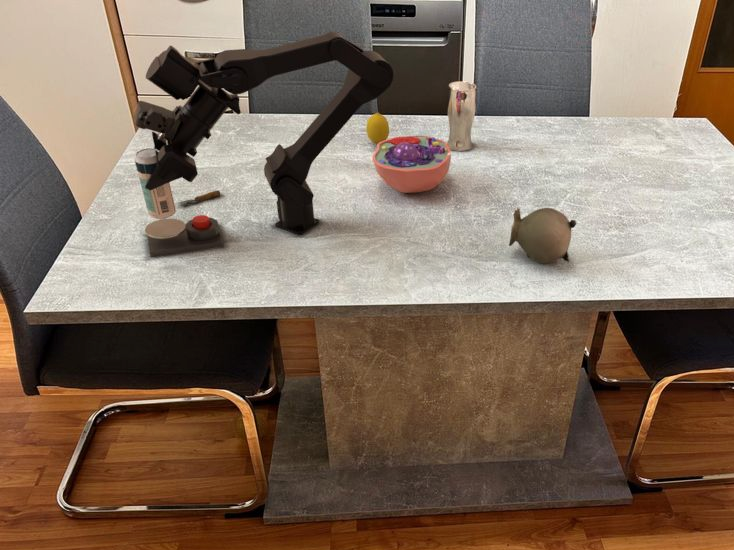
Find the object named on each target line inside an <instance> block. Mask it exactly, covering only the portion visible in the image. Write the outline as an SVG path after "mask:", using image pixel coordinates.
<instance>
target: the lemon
mask: <svg viewBox="0 0 734 550" xmlns="http://www.w3.org/2000/svg"><path fill="white" fill-rule="evenodd" d="M365 131H366V135H367V137H368V139H369V140H370V141H371V142H372V143H374V144H375V145H377V144H378V143H379V142H381V141H384V140H387V139H389V138H388V137H389V135H390V125H389V122H388V119H387V118H386V116H384V115H383V114H381V113H379V112H375V113H374V114H372V115H370V117H368V120H367V122H366V128H365Z"/></svg>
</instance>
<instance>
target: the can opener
mask: <svg viewBox="0 0 734 550" xmlns="http://www.w3.org/2000/svg"><path fill="white" fill-rule="evenodd" d="M219 196H221V191H220V190H219V189H217V190H214V191H210V192H207V193H205V194H202V195H198V196H196V197H194V199H186V200H182V201H180V202H179V203H178V205H181V206H183V207H185V206H187V205H188V204H194V203H196V202H197V203H199V202H202V201H204V200H209V199H213V198H217V197H219ZM184 203H185V204H184Z"/></svg>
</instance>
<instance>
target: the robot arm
mask: <svg viewBox="0 0 734 550" xmlns="http://www.w3.org/2000/svg"><path fill="white" fill-rule="evenodd" d="M334 61H336V62H338V63H340V64H341V65H343V66H344V67H346V69H348V70H347V73H346V75H345V79H344V81H343V84H342V87H341V88H340V90H339V91H338V92H337V93H336V94H335V95H334V96H333V98H332V99H331V100H330V101H329V102H328V103H327V105H326V106H325V107H324V108H323V109H322V110H321V112H320V113H319V114H318V115H317V116H316V117H315V119H314V120H313V121H312V122H311V123H310V124H309V126H308V127H307V128H306V129H305V130H304V132H303V133H302V134H301V135H300V136H299V138H298V139H297V140H296V141H295V142H294V143H293V144H291V145H289V146H287V147H284V146H282V144H280V143H279V144H277V145H276V146H275V149H274V150H273V151H272V153H271V154H270V155H268V156H266V157H265V162H266V163H265V165H264V167H263V173H264V177H265V179H266V181H267V183H268V185H269V187H270V190H271V191H272V193H273V194H274V195H275V196H276V197H277V198H276V199H277V201H276V208H277V218H278V221H277V222H275V223H274V226H275V228H277V229H282V230H284V231H287V232H290V233H294V234H296V235H303V234H305V232H307V231H309V230H310V229H312V228H313V227H314V226H316V225H318V224H319V223H320V219H319V218H316V217H315V214H314V201H313V200H314V196H315V194H314V193H313V191H312V189H311V187H310V186H309V184H308V182H307V178H308V176H309V172H310V169H311V167H312V164H313V162H314V161H315V160H316V158H318V156H319V155H320V154H321V153H322V152H323V151H324V149H325V148H326V147H327V146H328V145H329V144H330V142H331V141H332V140H333V139H334V138H335V136H337V134H338V133H339V132H340V131H341V130H342V129H343V128H344V127H345V125H346V124H347V123H348V122H349V120H350V119H351V118H352V117H353V116H354V115H355V113H357V111H358V110H359V109H360V108H361V107H362V106H364V105H366V104H368V103H370V102H373V101H375V100H376V99H377V98H379V97H380V96H381V95H383V94H385V92H386V91H387V90H388V89H390V88H391V86H392V84H394V80H395V79H394V70H393V67H392V66H391V64H390V63H389V62H388V61H387V60H386V59H385V58H384V57H383V56H381V54H379V53H378V52H377V51H375V50H364V49H362V48H361V47H359V46H358V45H356V44H355V43H353V42H351V41H349V40H348V39H346V38H344V37H343V36H342V35H341V34H340V33H339V32H337V31H329V32H327V33H325V34H322V35H318V36H314V37H310V38H305V39H302V40H298V41H294V42H290V43H286V44H282V45H278V46H275V47H270V48H265V49H247V48H243V49H242V48H240V49H226V50H222V51H221V52H219V53H218V54H216V56H215V57H213V58H209V59H205V60H201V61H196V62H193V61H191V60H190V59H188V58H187V57H186V56H184V55H183V54H182V53H181V52H180V51H179V50H178V49H177V48H176V47H174V46H173V45H168V47H167V49H166V50H163V51H162V52H161V53H160V54H159V55H156V56H155V57H154V59H153V60H152V62H151V63H150V65H149V67H148V69H147V70H146V73H145V79H146V80H147V81H149V82H150V83H152V84H153V85H155V86H156V87H158V88H159V89H160V90H161V91H163V92H164V93H166V94H167V95H168V96H170V97H171V98H173V99H174V100H176V101H179V100H182V101H185V100H187V101H185V103H184V104H183V106H182V105H176V106H175V107H174V109H173V110H171V109H168V108H165V107H163V106H161V105H157V104H154V103H151V102H147V101H144V100H138V101H137V102H138V103H137V106H136V110H135V115H134V118H133V119H134V125H135V126H136V127H137V128H139V129H141V130H150V131H151V136H152V142H153V145H154V146H153V149H157V150H159V152H157V151H156V150H155V154H156V159H157V164H156V166H155V168H154V170H153V172H152V173H151V175H150V177H149V179H148V181H147V183H146V185H145V188H146V189H148V190H153V189H155V188H157V187H160V186H162V185H164V184H166V183H171V182H173V181H176V180H179V179H184V180H185V181H187V182H188V183H192V182H193V181H194V180H195V178H196V177H197V176H198V175H199V173H198V168H197V165H196V161H195V158H194V157H195V156H196V155H197V154H198V151H197V148H198V147H199V146H200V144H201V143H202V142H203V140H205V139H206V140H209V139H210V137H211V136H212V132H211V131H212V129H213V128H214V127H215V125H216V124H217V122H219V120H220V119H221V118H222V116H223V115H224V114H225V113H226V111H227V110H228V109H230V110H231V111H232V112H234V113H235V114H237V115H240V114H241V113H242V111H241V108H240V97H239V95H243V94H244V93H247V92H250V91H252V90H253V89H256V88H259V86H261V85H262V84H263V83H265V82H266V81H267V80H269V79H271V78H274V77H276V76H280V75H284V74H287V73H292V72H295V71H299V70H303V69H307V68H311V67H314V66H318V65H323V64H327V63H330V62H334Z"/></svg>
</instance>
